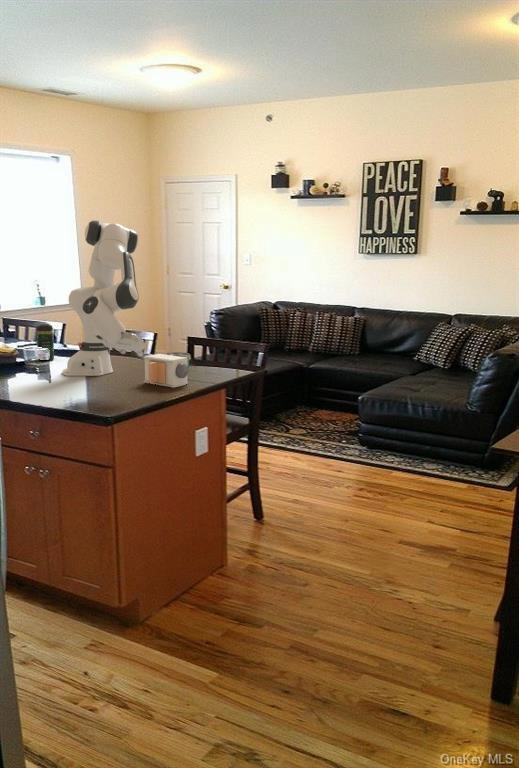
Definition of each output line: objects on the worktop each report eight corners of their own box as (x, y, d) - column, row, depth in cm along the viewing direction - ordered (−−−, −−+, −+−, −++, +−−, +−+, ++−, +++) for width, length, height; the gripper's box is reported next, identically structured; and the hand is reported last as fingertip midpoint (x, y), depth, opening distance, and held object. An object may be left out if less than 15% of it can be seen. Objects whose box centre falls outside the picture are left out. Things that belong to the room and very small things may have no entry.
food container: (195, 375, 296) (195, 353, 294) (189, 377, 291) (188, 355, 289) (173, 372, 301) (172, 351, 299) (165, 374, 296) (165, 353, 294)
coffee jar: (54, 361, 325) (52, 324, 322) (38, 361, 323) (36, 324, 319) (54, 358, 334) (52, 322, 331) (38, 358, 332) (36, 322, 328)
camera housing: (143, 383, 276) (143, 356, 274) (159, 379, 284) (159, 353, 282) (174, 388, 266) (174, 361, 264) (190, 384, 274) (190, 357, 272)
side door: (142, 382, 270) (142, 362, 268) (150, 380, 274) (150, 360, 272) (157, 384, 265) (157, 364, 264) (165, 383, 269) (165, 363, 268)
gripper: (137, 327, 243) (155, 350, 253) (99, 323, 254) (118, 345, 264) (128, 340, 240) (147, 362, 250) (91, 335, 252) (111, 357, 262)
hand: (132, 353), depth 257 cm, fingers open, 8 cm apart
